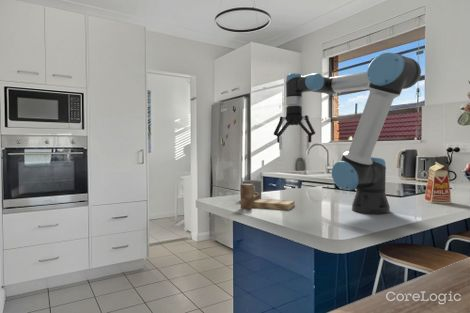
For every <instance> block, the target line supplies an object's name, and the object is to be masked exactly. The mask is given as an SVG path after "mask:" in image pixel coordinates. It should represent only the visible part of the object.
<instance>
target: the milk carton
mask: <svg viewBox="0 0 470 313" xmlns="http://www.w3.org/2000/svg"><path fill="white" fill-rule="evenodd" d="M449 178H450V176H449V172H448V170H447V169H445V165H443V164H440V163H439V162H437V161H435V164H434V165H431V166H430V167H429V169H428V177H427V182H426V189H425V192H424V199H423V201H424V202H427V203H429V204H430V203H431V204H442V205H443V204H452V195H451V186H450V185H451V184H450V179H449Z"/></svg>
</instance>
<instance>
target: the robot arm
mask: <svg viewBox="0 0 470 313" xmlns="http://www.w3.org/2000/svg"><path fill="white" fill-rule="evenodd" d="M421 73H422V69H421V65H420V63H419V62H418V61H416V60H415V59H414V58H412V57H408V56H405V55H402V54H399V53H397V52H395V53H393V52H384V53H381V54H378V55H377V56H375V57H374V58H373V59H372V60H371V62H370V63H369V65H368V67H367V71H363V72H357V73H355V72H354V73H349V74H343V75H338V76H337V75H336V76H331V77H325V76H323V75H322V74H321V73H319V72H315V73H310V74H306V75H302V73H298V72H294V73H288V74H287V75H286V81H285V89H286V90H285V93H286V95H285V96H286V98H285V100H286V101H285V102H286V103H285V104H286V105H285V106H286V108H285V112H286V115H285V116H279V121H278V123H277V125H276V127H275V129H274V132H273V136H276V137H277V138H276V142H277V144H278V150H283V136H282V134H283V133H284V132H285V131H286V130H287V128H288V127H289V126H300V127H301V129H302V130H303V131H304V132H305V133H306V134H307V135H306V150H310V143H312V136H313V135H316V131H315V129H314V127H313V126H312V123H311V122H310V119H309V115H306V114H305V115H303V111H302V110H303V109H302V104H303V103H302V102H303V93H307V92H311V93H312V92H313V93H321V94H326V95H336V94H337V93H345V92H355V91H364V90H368V91H369V95H368V97H367V100H366V103H365V104H364V109H363V110H362V111H363V112H361V113H362V114H361V116H360V119H359V121H358V124H357V128H356V129H355V132H354V135H353V139H352V140H351V144H350V146H349V149H348V150H347V151H345V152H343V154H342V156H341V159H340V160H339V161H337V162H335V163H334V164H333V165H332V168H331V177H332V180H333V182H334V184H335V185H336V186H337V187H338V188H339V189H341V190H345V191H346V190H347V191H352V190H355V191H356V192H355V195H354V199H353V201H352V204H351V210H352V211H354V212H356V213H357V212H358V213H360V214H361V213H362V214H372V215H373V214H374V215H382V214H389V213H390V212H391V209H390V208H391V207H390V204H389V201H388V198H387V195H386V179H387V178H386V171H387V170H386V169H387V167H386V161H385V159H384V158H379V157H372V155H373V151H374V149H375V147H376V144H377V143H378V142H377V141H378V139H379V137H380V134H381V131H382V129H383V126H384V125H385V121H386V119H387V117H388V114H389V111H390V109H391V106H392V103H393V101H394V99H395V98H398V97H400V96H401V94H402V91H403V90H406V89H410V88H412V87H413V86H415V85H416V84H417V83H418V82H419V80H420V78H421V75H422V74H421ZM302 120H304V121H305V123H306V124H307V127H308V128H307V127H306V126H305V125H304V123H303V122H302ZM285 121H286V123H285V124H284V125H283V123H284V122H285ZM282 125H283V127H282Z"/></svg>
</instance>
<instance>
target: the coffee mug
mask: <svg viewBox="0 0 470 313" xmlns="http://www.w3.org/2000/svg"><path fill="white" fill-rule="evenodd" d="M242 184H254V194H255V192H258V194H260V198H258V199H262V181H261V180H259V179H258V180H257V179H245V180H242Z"/></svg>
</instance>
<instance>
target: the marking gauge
mask: <svg viewBox="0 0 470 313" xmlns="http://www.w3.org/2000/svg"><path fill="white" fill-rule="evenodd" d="M258 198H260V194H258V192H255V194H254V184H243V183H241V184H240V209H241V210H252V209H253V208H255V207H254V200H256V199H258Z"/></svg>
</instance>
